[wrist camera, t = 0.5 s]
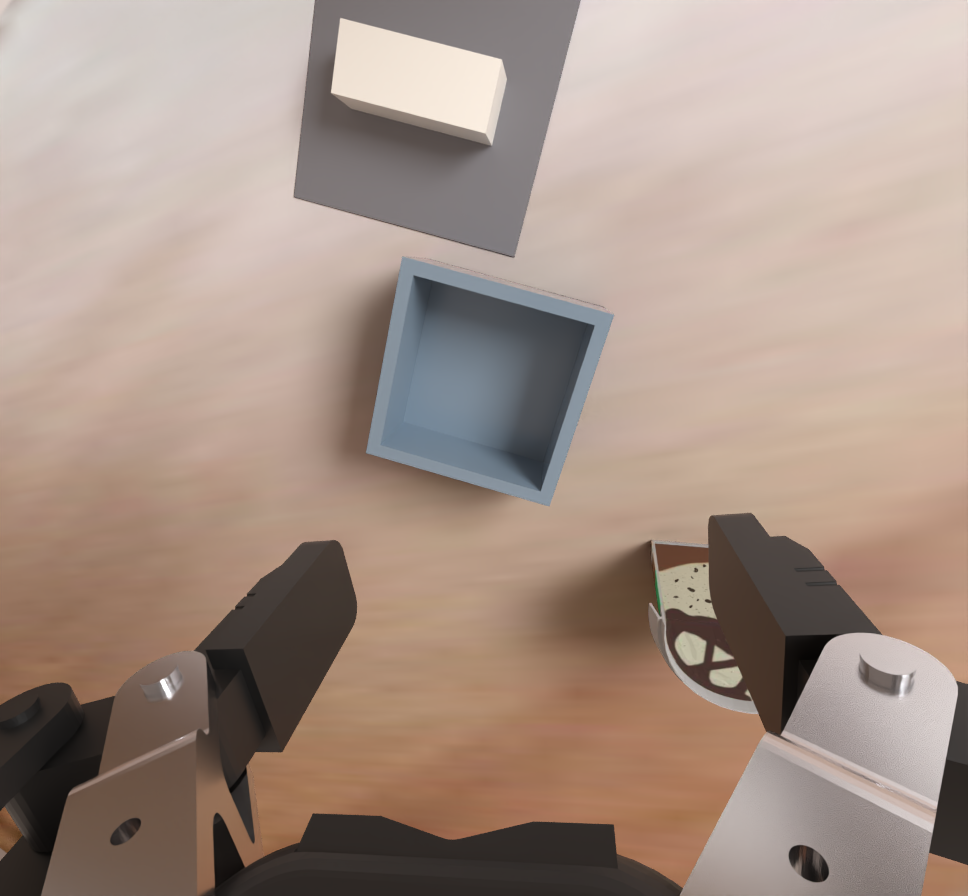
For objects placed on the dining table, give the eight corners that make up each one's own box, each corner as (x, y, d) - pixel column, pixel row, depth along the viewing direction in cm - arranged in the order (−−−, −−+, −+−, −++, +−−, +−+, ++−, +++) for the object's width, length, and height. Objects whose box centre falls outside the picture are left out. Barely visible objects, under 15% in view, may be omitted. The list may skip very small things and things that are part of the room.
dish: (427, 258, 34) (402, 256, 28) (604, 307, 33) (613, 314, 28) (394, 425, 38) (365, 452, 32) (550, 471, 37) (549, 506, 32)
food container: (621, 606, 40) (641, 708, 31) (630, 538, 38) (655, 624, 29) (786, 622, 39) (859, 734, 30) (805, 552, 37) (890, 647, 28)
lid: (331, -86, 29) (300, -135, 25) (587, -22, 28) (591, -64, 25) (299, 198, 34) (270, 190, 31) (515, 257, 34) (510, 255, 30)
